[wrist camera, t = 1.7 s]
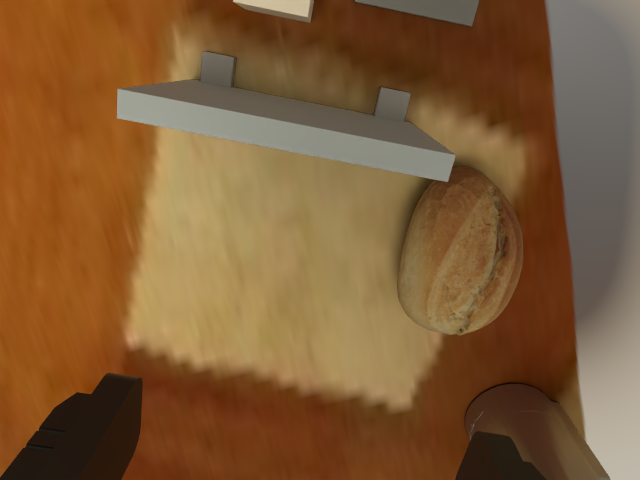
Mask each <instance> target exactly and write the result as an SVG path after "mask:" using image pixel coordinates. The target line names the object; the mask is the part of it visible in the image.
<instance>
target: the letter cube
mask: <svg viewBox="0 0 640 480" xmlns="http://www.w3.org/2000/svg"><path fill="white" fill-rule="evenodd" d="M233 2H235V3H236V4H238V5H239V6H241V7H242V8H244V9H246V10H250V11H255V12H260V13H264V14H269V15H274V16H279V17H283V18H288V19H293V20H298V21H303V22H307V23H311V17H312V11H313V4H314V0H233Z"/></svg>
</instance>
